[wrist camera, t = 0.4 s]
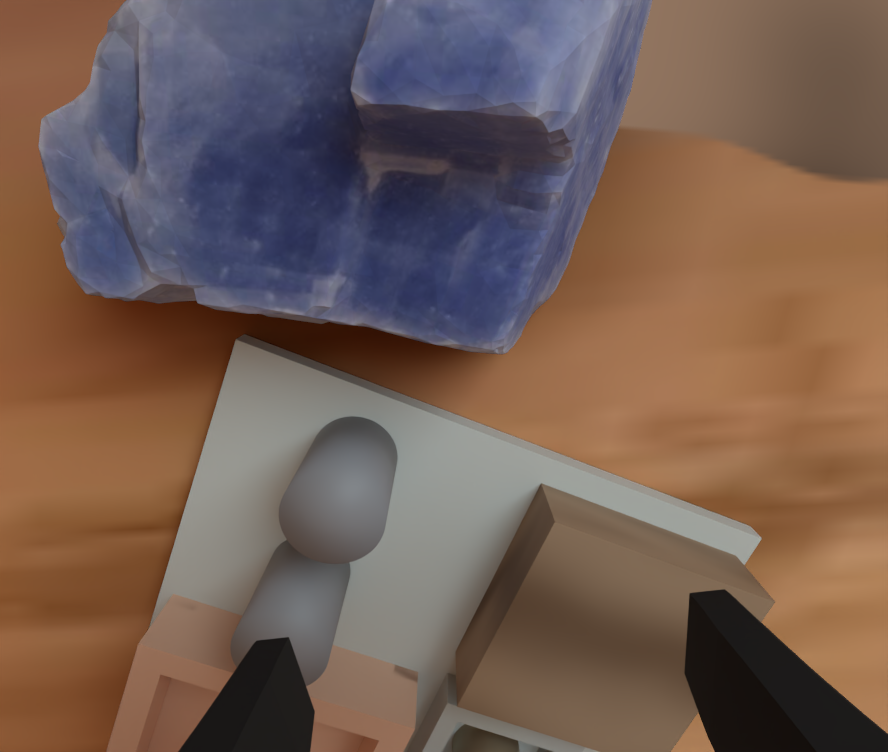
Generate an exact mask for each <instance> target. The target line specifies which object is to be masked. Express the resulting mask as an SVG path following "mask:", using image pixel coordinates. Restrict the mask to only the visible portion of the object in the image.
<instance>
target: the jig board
mask: <svg viewBox="0 0 888 752" xmlns="http://www.w3.org/2000/svg"><path fill="white" fill-rule="evenodd" d="M541 483H542V484H545V485H547V486H550V487H553V488H555V489H558V490H561V491H563V492H566V493H569V494H572V495H574V496H577V497H580V498H582V499H585V500H588V501H590V502H593V503H596V504H598V505H601V506H604V507H606V508H609V509H612V510H615V511H617V512H620V513H623V514H625V515H628V516H631V517H633V518H636V519H639V520H641V521H644V522H647V523H650V524H652V525H655V526H658V527H660V528H663V529H666V530H668V531H671V532H674V533H676V534H679V535H682V536H684V537H687V538H690V539H693V540H695V541H698V542H701V543H703V544H706V545H709V546H711V547H714V548H717V549H719V550H722V551H725V552H728V553H730V554H733V555H736V556H737V557H738V559H739V560H740V561H741V562H742V563H743V564H744V565H745V563H746V562H747V560H748V559H749V557H750V556H751V554H752V553H753V551H754V550H755V548H756V547H757V545H758V544H759V542H760V541H761V539H762V538H761V537H760V536H759V535H758V534H757V533H756V532H755V531H754V530H753V529H752V528H751V527H750V526H748V525H745V524H743V523H740V522H738V521H735V520H732V519H730V518H727V517H724V516H722V515H719V514H717V513H714V512H711V511H709V510H706V509H703V508H701V507H698V506H695V505H693V504H690V503H688V502H685V501H682V500H680V499H677V498H674V497H672V496H669V495H666V494H664V493H661V492H659V491H656V490H653V489H651V488H648V487H645V486H643V485H640V484H638V483H635V482H632V481H630V480H627V479H624V478H622V477H619V476H616V475H614V474H611V473H609V472H606V471H603V470H601V469H598V468H595V467H593V466H590V465H588V464H585V463H582V462H580V461H577V460H574V459H572V458H569V457H566V456H564V455H561V454H559V453H556V452H553V451H551V450H548V449H545V448H543V447H540V446H538V445H535V444H532V443H530V442H527V441H524V440H522V439H519V438H516V437H514V436H511V435H509V434H506V433H503V432H501V431H498V430H495V429H493V428H490V427H488V426H485V425H482V424H480V423H477V422H474V421H472V420H469V419H466V418H464V417H461V416H459V415H456V414H453V413H451V412H448V411H445V410H443V409H440V408H438V407H435V406H432V405H430V404H427V403H424V402H422V401H419V400H416V399H414V398H411V397H409V396H406V395H403V394H401V393H398V392H395V391H393V390H390V389H388V388H385V387H382V386H380V385H377V384H374V383H372V382H369V381H366V380H364V379H361V378H359V377H356V376H353V375H351V374H348V373H345V372H343V371H340V370H338V369H335V368H332V367H330V366H327V365H324V364H322V363H319V362H316V361H314V360H311V359H309V358H306V357H303V356H301V355H298V354H295V353H293V352H290V351H287V350H285V349H282V348H280V347H277V346H274V345H272V344H269V343H266V342H264V341H261V340H259V339H256V338H253V337H251V336H248V335H245V334H244V335H242V336H240V337H239V338H237V339H236V340H235V344H234V347H233V350H232V354H231V357H230V360H229V364H228V367H227V370H226V374H225V377H224V380H223V384H222V387H221V390H220V393H219V397H218V400H217V403H216V407H215V410H214V413H213V417H212V420H211V423H210V427H209V430H208V433H207V437H206V440H205V443H204V447H203V450H202V453H201V457H200V460H199V463H198V467H197V470H196V473H195V477H194V480H193V483H192V487H191V490H190V493H189V497H188V500H187V503H186V506H185V510H184V513H183V516H182V520H181V523H180V526H179V530H178V533H177V536H176V540H175V543H174V546H173V550H172V553H171V556H170V560H169V563H168V566H167V570H166V573H165V576H164V580H163V583H162V586H161V590H160V593H159V596H158V600H157V603H156V606H155V610H154V613H153V616H152V619H151V623H150V626H151V625H152V623H153V622H154V621H155V619H156V618H157V616H158V615H159V613H160V612H161V611H162V609H163V608H164V606H165V605H166V604H167V602H168V601H169V599H170V598H171V596H172V595H173V594H176V595H179V596H182V597H185V598H189V599H192V600H195V601H198V602H201V603H204V604H207V605H210V606H214V607H217V608H220V609H223V610H226V611H229V612H232V613H235V614H239V615H242V618H241V620H240V622H239V624H238V626H237V628H236V630H235V632H234V634H233V636H232V640H231V645H230V650H231V656H232V659H233V662H234V664H235V665H236V667H238V665H239V664H240V662H241V661H242V659H243V658H244V656H245V655H246V654H247V652H248V651H249V649H250V648H251V646H252V645H253V644H254V643H255V642H256V641H257V640H266V639H275V638H284V637H289V639H290V641H291V644H292V647H293V650H294V653H295V656H296V659H297V662H298V664H299V667H300V670H301V673H302V676H303V679H304V682H305V685H306V686H308V685H310V684H312V683H313V682H315V681H316V680H317V679H318V678H319V677H320V676H321V675H322V674H323V673H324V671H325V669H326V667H327V664H328V661H329V657H330V653H331V649H332V646H333V645H335V646H338V647H342V648H345V649H348V650H351V651H354V652H357V653H360V654H363V655H367V656H370V657H373V658H376V659H379V660H382V661H385V662H388V663H392V664H395V665H398V666H401V667H404V668H407V669H410V670H413V671H416V672H418V684H417V703H416V721H415V730H414V732H413V734H412V736H411V738H410V740H409V742H408V744H407V746H406V748H405V750H404V752H452V740H453V737H454V734H455V733H456V731H457V730H458V729H459V728H460V727H461V726H463V725H464V724H466V725H470V726H473V727H476V728H479V729H482V730H486V731H489V732H492V733H495V734H498V735H502V736H505V737H508V738H511V739H515V740H518V744H519V751H520V752H599V751H596V750H592V749H589V748H586V747H583V746H580V745H577V744H573V743H570V742H567V741H564V740H561V739H558V738H554V737H551V736H548V735H545V734H542V733H538V732H535V731H532V730H529V729H526V728H523V727H519V726H516V725H513V724H510V723H507V722H504V721H500V720H497V719H494V718H491V717H488V716H485V715H481V714H478V713H475V712H472V711H469V710H466V709H462V708H459V707H457V689H456V653H455V652H456V650H457V648H458V646H459V644H460V642H461V640H462V638H463V636H464V634H465V632H466V630H467V628H468V626H469V624H470V622H471V620H472V618H473V616H474V614H475V612H476V610H477V608H478V606H479V604H480V602H481V600H482V598H483V597H484V595H485V593H486V591H487V589H488V587H489V585H490V583H491V581H492V579H493V577H494V575H495V573H496V571H497V569H498V567H499V565H500V563H501V561H502V559H503V557H504V555H505V553H506V551H507V549H508V547H509V545H510V543H511V542H512V540H513V538H514V536H515V534H516V532H517V530H518V528H519V526H520V524H521V522H522V520H523V518H524V516H525V514H526V512H527V510H528V508H529V506H530V504H531V502H532V500H533V498H534V496H535V494H536V492H537V490H538V489H539V487H540V485H541ZM150 626H149V628H150Z"/></svg>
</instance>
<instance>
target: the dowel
mask: <svg viewBox="0 0 888 752" xmlns="http://www.w3.org/2000/svg"><path fill="white" fill-rule="evenodd" d="M452 752H520V751H519V744H518V740H515V739H511V738H508V737H505V736H502V735H498V734H495V733H492V732H489V731H486V730H482V729H479V728H476V727H473V726H470V725H466V724H464V725H463V726H461V727H460V728H459V729H458V730H457V731H456V733H455V734H454V737H453V740H452Z"/></svg>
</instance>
